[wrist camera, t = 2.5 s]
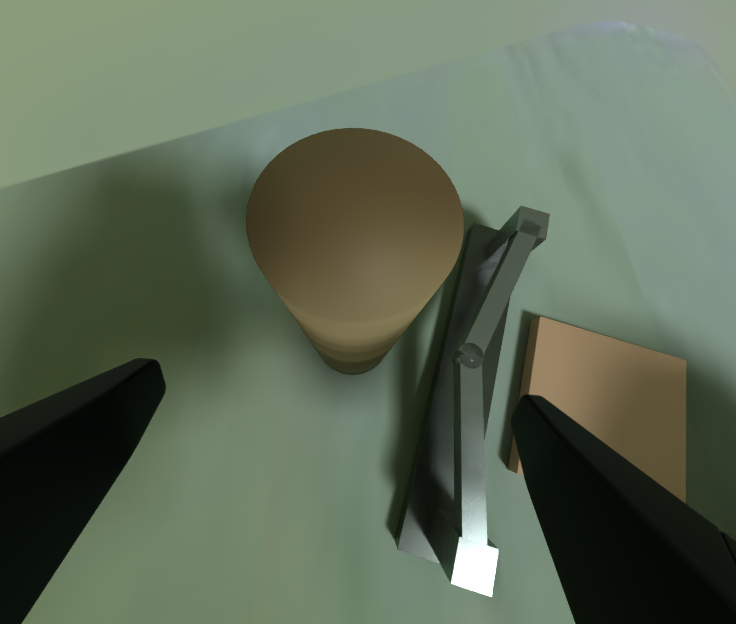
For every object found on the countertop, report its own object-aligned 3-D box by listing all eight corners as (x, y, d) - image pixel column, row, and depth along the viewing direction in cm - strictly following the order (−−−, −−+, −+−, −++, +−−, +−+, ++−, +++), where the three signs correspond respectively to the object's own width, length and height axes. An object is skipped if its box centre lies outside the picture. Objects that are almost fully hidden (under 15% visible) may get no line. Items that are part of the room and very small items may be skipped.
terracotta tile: (666, 519, 17) (685, 527, 16) (508, 469, 17) (517, 473, 16) (669, 362, 19) (686, 360, 18) (531, 320, 20) (540, 316, 19)
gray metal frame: (454, 559, 16) (493, 620, 11) (390, 539, 16) (406, 591, 12) (513, 244, 21) (554, 204, 17) (465, 230, 21) (494, 186, 17)
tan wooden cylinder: (399, 359, 18) (500, 277, 6) (329, 385, 18) (280, 353, 5) (373, 294, 20) (415, 109, 7) (307, 316, 19) (223, 155, 6)
